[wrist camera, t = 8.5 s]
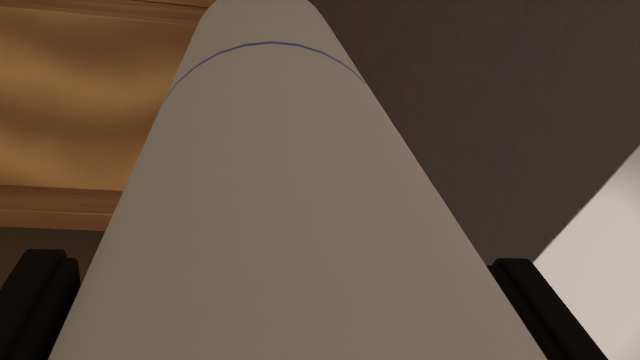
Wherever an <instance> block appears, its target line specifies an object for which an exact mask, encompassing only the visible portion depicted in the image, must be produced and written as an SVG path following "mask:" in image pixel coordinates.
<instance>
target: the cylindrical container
mask: <svg viewBox="0 0 640 360" xmlns="http://www.w3.org/2000/svg"><path fill="white" fill-rule="evenodd" d="M48 360H547V358H546V357H545V355H544V354H543V352H542V351H541V349H540V348H539V346H538V345H537V343H536V342H535V340H534V338H533V337H532V335H531V334H530V332H529V331H528V329H527V328H526V326H525V325H524V323H523V322H522V320H521V319H520V317H519V316H518V314H517V313H516V311H515V309H514V308H513V306H512V305H511V303H510V302H509V300H508V299H507V297H506V296H505V294H504V293H503V291H502V290H501V288H500V287H499V285H498V284H497V282H496V281H495V279H494V277H493V276H492V274H491V273H490V271H489V270H488V268H487V267H486V265H485V264H484V262H483V261H482V259H481V258H480V256H479V255H478V253H477V252H476V250H475V248H474V247H473V245H472V244H471V242H470V241H469V239H468V238H467V236H466V235H465V233H464V232H463V230H462V229H461V227H460V226H459V224H458V223H457V221H456V219H455V218H454V216H453V215H452V213H451V212H450V210H449V209H448V207H447V206H446V204H445V203H444V201H443V200H442V198H441V197H440V195H439V194H438V192H437V190H436V189H435V187H434V186H433V184H432V183H431V181H430V180H429V178H428V177H427V175H426V174H425V172H424V171H423V169H422V168H421V166H420V165H419V163H418V162H417V160H416V158H415V157H414V155H413V154H412V152H411V151H410V149H409V148H408V146H407V145H406V143H405V142H404V140H403V139H402V137H401V136H400V134H399V133H398V131H397V129H396V128H395V126H394V125H393V123H392V122H391V120H390V119H389V117H388V116H387V114H386V113H385V111H384V110H383V108H382V107H381V105H380V104H379V102H378V100H377V99H376V97H375V96H374V94H373V93H372V91H371V90H370V88H369V87H368V85H367V84H366V82H365V81H364V79H363V78H362V76H361V75H360V73H359V71H358V70H357V68H356V67H355V65H354V64H353V62H352V61H351V59H350V58H349V56H348V55H347V53H346V52H345V50H344V48H343V47H342V45H341V44H340V42H339V41H338V39H337V38H336V36H335V35H334V33H333V32H332V30H331V28H330V27H329V25H328V24H327V22H326V21H325V19H324V18H323V16H322V15H321V14H320V13H319V11H318V10H317V9H316V8H315V6H313V5H312V4H311V3H310V2H309V1H307V0H217V1H216V2H214V3H213V4H212V5H211V6H210V7H209V8H208V9H207V11H206V12H205V13H204V15H203V16H202V18H201V19H200V21H199V23H198V25H197V28H196V30H195V32H194V34H193V37H192V39H191V41H190V43H189V46H188V48H187V50H186V52H185V55H184V57H183V59H182V61H181V64H180V66H179V68H178V70H177V72H176V75H175V77H174V79H173V81H172V84H171V86H170V88H169V90H168V92H167V95H166V97H165V99H164V101H163V103H162V106H161V108H160V110H159V112H158V115H157V117H156V119H155V121H154V123H153V126H152V128H151V130H150V132H149V135H148V137H147V139H146V141H145V144H144V146H143V148H142V150H141V153H140V155H139V157H138V159H137V162H136V164H135V166H134V169H133V171H132V173H131V175H130V178H129V180H128V182H127V184H126V187H125V189H124V191H123V193H122V196H121V198H120V200H119V202H118V205H117V207H116V209H115V211H114V214H113V216H112V218H111V220H110V222H109V225H108V227H107V229H106V231H105V234H104V236H103V238H102V240H101V243H100V245H99V247H98V249H97V251H96V254H95V256H94V258H93V260H92V263H91V265H90V267H89V269H88V271H87V274H86V276H85V278H84V280H83V283H82V285H81V287H80V289H79V291H78V294H77V296H76V298H75V300H74V303H73V305H72V307H71V309H70V311H69V314H68V316H67V318H66V320H65V323H64V325H63V327H62V329H61V331H60V334H59V336H58V338H57V340H56V343H55V345H54V347H53V349H52V352H51V354H50V356H49V358H48Z"/></svg>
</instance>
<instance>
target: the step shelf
mask: <svg viewBox="0 0 640 360" xmlns="http://www.w3.org/2000/svg"><path fill="white" fill-rule="evenodd" d="M143 1H146V2H143ZM216 1H217V0H136V1H133V0H0V226H4V227H29V228H53V229H77V230H101V231H106V229H107V227H108V225H109V222H110V220H111V218H112V216H113V214H114V211H115V209H116V207H117V205H118V202H119V200H120V198H121V196H122V193H123V191H124V189H125V187H126V184H127V182H128V180H129V178H130V175H131V173H132V171H133V169H134V166H135V164H136V162H137V159H138V157H139V155H140V153H141V150H142V148H143V146H144V144H145V141H146V139H147V137H148V135H149V132H150V130H151V128H152V126H153V123H154V121H155V119H156V117H157V115H158V112H159V110H160V108H161V106H162V103H163V101H164V99H165V97H166V95H167V92H168V90H169V88H170V86H171V84H172V81H173V79H174V77H175V75H176V72H177V70H178V68H179V66H180V64H181V61H182V59H183V57H184V55H185V52H186V50H187V48H188V46H189V43H190V41H191V39H192V37H193V34H194V32H195V30H196V28H197V25H198V23H199V21H200V19H201V18H202V16H203V15H204V13H205V12H206V11H207V9H208V8H209V7H210V6H211V5H212V4H213V3H214V2H216ZM153 2H156V3H153ZM163 3H166V4H163ZM173 4H176V5H173ZM183 5H186V6H183ZM193 6H196V7H193ZM203 7H206V8H203Z"/></svg>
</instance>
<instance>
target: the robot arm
mask: <svg viewBox="0 0 640 360" xmlns="http://www.w3.org/2000/svg"><path fill="white" fill-rule="evenodd" d="M487 268H488V270H489V271H490V273H491V274H492V276H493V277H494V279H495V281H496V282H497V284H498V285H499V287H500V288H501V290H502V291H503V293H504V294H505V296H506V297H507V299H508V300H509V302H510V303H511V305H512V306H513V308H514V309H515V311H516V313H517V314H518V316H519V317H520V319H521V320H522V322H523V323H524V325H525V326H526V328H527V329H528V331H529V332H530V334H531V335H532V337H533V338H534V340H535V342H536V343H537V345H538V346H539V348H540V349H541V351H542V352H543V354H544V355H545V357H546V358H547V360H608V359H607V357H606V356H605V355H604V354H603V352H602V351H601V350H600V349H599V347H598V346H597V345H596V343H595V342H594V341H593V340H592V339H591V337H590V336H589V335H588V333H587V332H586V331H585V330H584V328H583V327H582V326H581V324H580V323H579V322H578V321H577V319H576V318H575V317H574V316H573V314H572V313H571V312H570V310H569V309H568V308H567V307H566V305H565V304H564V303H563V301H562V300H561V299H560V298H559V296H558V295H557V294H556V293H555V291H554V290H553V289H552V287H551V286H550V285H549V284H548V282H547V281H546V280H545V279H544V277H543V276H542V275H541V273H540V272H539V271H538V270H537V268H536V267H535V266H534V265H533V263H532V262H531V261H530V260H528V259H517V258H498V259H496V260H495V261H494V263H493V265H492V266H487ZM80 287H81V285H80V275H79V266H78V262H77V259H75V258H67V254H66V252H65V251H64V250H54V249H28V250H26V252H25V253H24V254H23V255H22V257H21V259H20V260H19V262H18V263H17V265H16V266H15V268H14V269H13V271H12V272H11V274H10V275H9V277H8V278H7V280H6V281H5V283H4V285H3V286H2V288H1V289H0V360H48V358H49V356H50V354H51V352H52V349H53V347H54V345H55V343H56V340H57V338H58V336H59V334H60V331H61V329H62V327H63V325H64V323H65V320H66V318H67V316H68V314H69V311H70V309H71V307H72V305H73V303H74V300H75V298H76V296H77V294H78V291H79V289H80Z"/></svg>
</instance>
